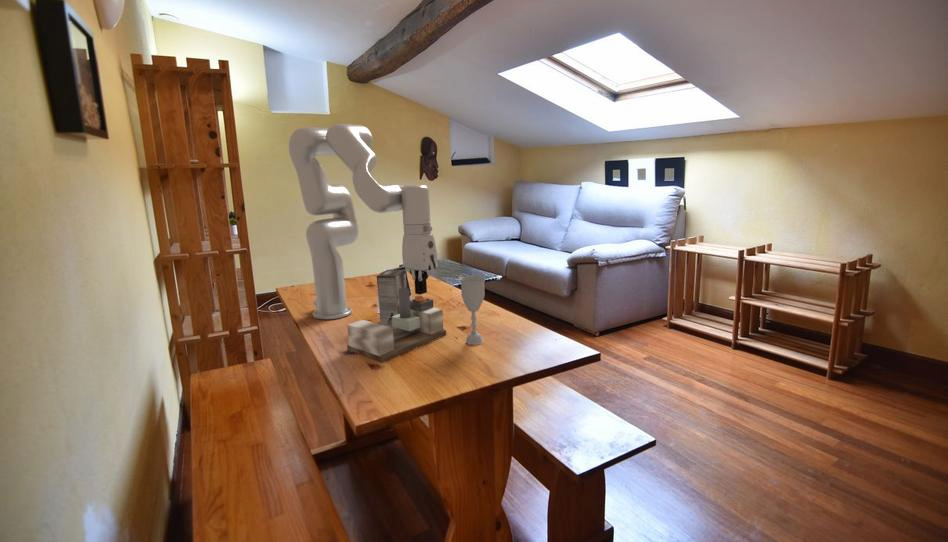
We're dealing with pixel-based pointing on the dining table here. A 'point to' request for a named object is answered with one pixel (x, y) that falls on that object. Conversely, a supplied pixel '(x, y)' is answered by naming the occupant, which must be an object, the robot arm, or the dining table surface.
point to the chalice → (473, 302)
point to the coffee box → (390, 294)
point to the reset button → (420, 298)
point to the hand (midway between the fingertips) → (421, 293)
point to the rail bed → (396, 334)
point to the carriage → (405, 313)
